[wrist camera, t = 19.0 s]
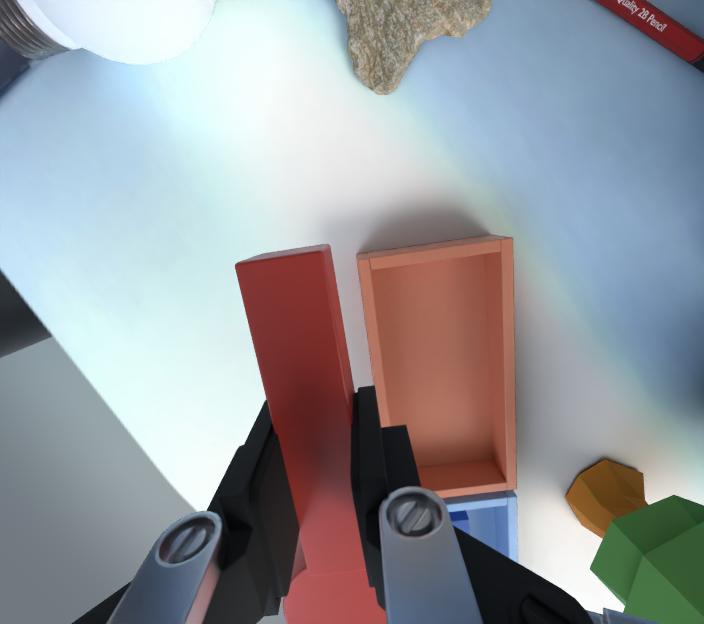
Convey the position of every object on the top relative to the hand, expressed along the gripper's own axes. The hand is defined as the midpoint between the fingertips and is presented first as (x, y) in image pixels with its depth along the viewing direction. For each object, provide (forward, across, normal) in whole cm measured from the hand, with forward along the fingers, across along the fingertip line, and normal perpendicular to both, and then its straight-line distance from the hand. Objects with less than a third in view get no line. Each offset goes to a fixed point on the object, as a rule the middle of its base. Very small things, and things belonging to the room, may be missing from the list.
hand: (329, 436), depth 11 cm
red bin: (+14, -6, +5) cm, 16 cm away
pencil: (+14, -18, -15) cm, 27 cm away
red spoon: (0, 0, +1) cm, 1 cm away
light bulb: (+11, +14, -18) cm, 26 cm away
